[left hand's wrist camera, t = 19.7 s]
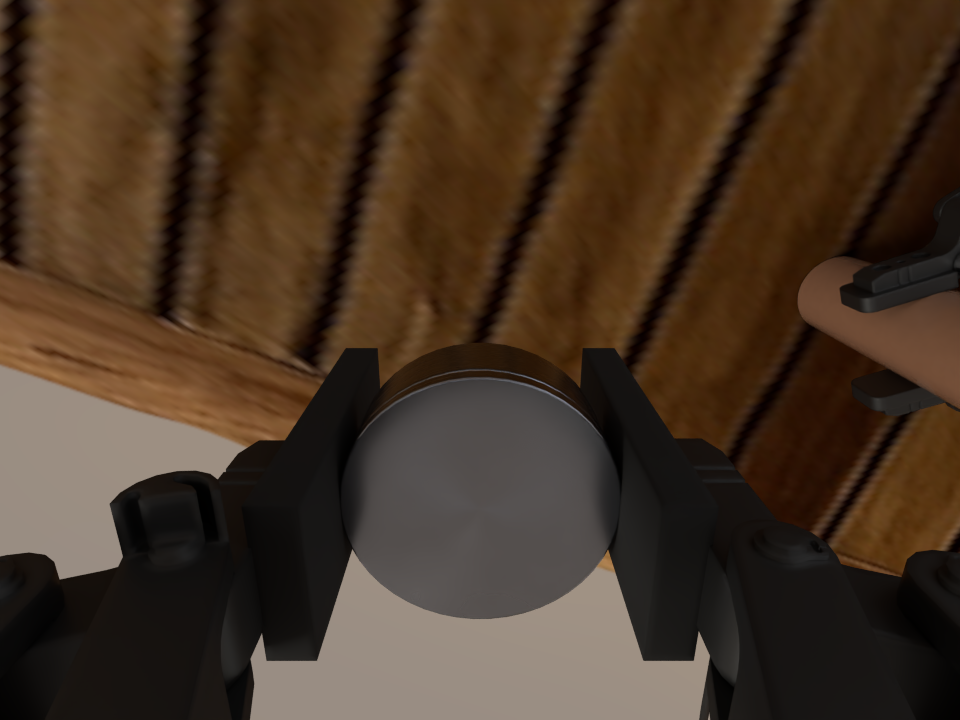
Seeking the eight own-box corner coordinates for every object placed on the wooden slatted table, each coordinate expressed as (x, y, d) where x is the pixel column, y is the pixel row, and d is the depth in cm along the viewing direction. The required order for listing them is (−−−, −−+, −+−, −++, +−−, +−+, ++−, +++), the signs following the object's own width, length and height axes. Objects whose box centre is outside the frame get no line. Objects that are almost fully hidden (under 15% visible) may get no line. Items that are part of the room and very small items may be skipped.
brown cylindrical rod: (794, 334, 33) (1064, 500, 18) (799, 261, 32) (1096, 374, 16) (870, 324, 33) (1208, 484, 18) (877, 251, 31) (1253, 355, 16)
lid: (640, 385, 11) (668, 427, 10) (551, 580, 13) (562, 646, 11) (395, 308, 11) (379, 338, 9) (334, 521, 12) (310, 581, 11)
